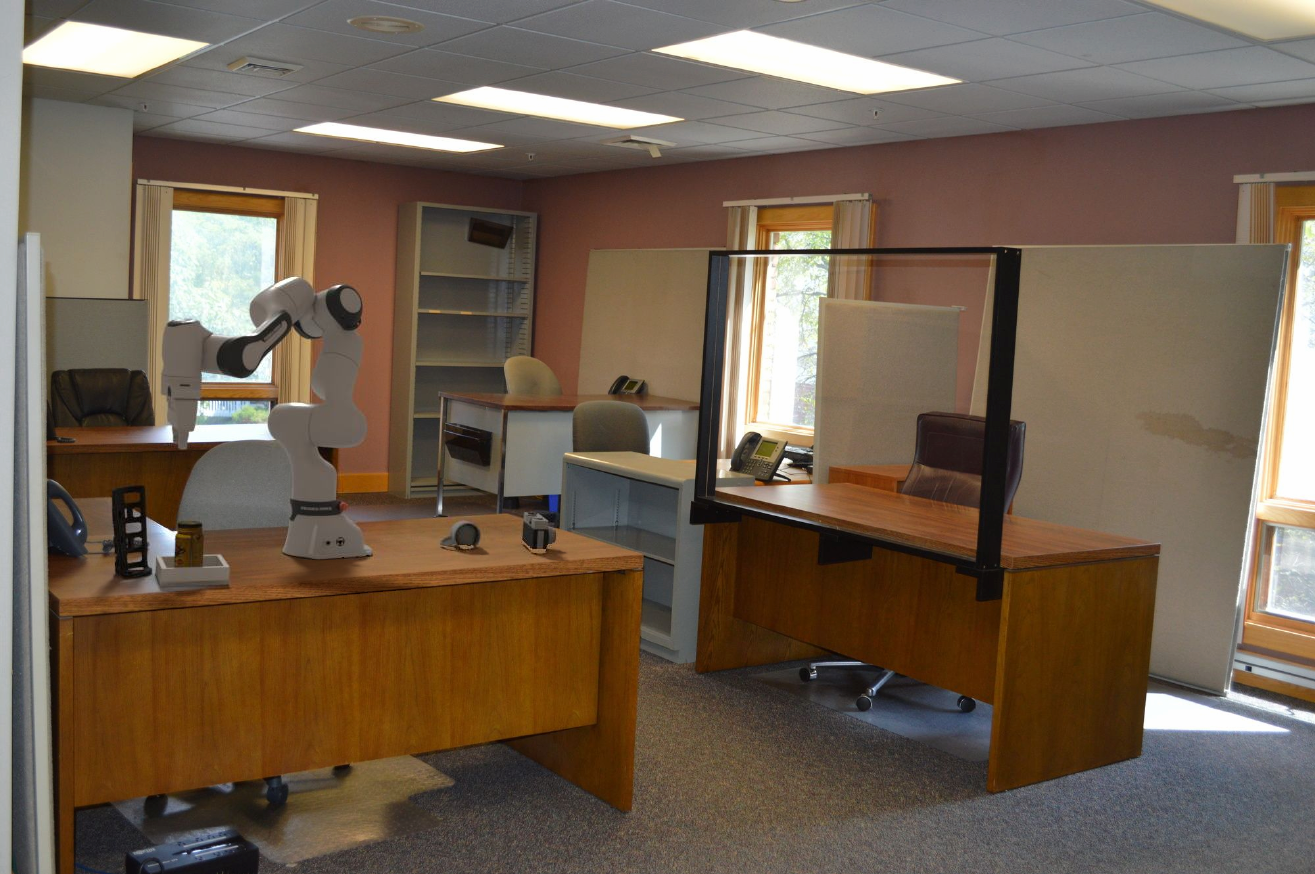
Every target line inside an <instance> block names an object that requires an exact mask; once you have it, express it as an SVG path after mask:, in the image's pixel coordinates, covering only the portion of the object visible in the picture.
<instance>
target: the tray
mask: <svg viewBox="0 0 1315 874" xmlns="http://www.w3.org/2000/svg"><path fill="white" fill-rule="evenodd" d="M174 556H175V555H156V556H155V575H156V577H157V580H158V583H159V584H160V587H161V588H163V587H165V588H168V587H190V586H191V587H193V586H195V587H196V586H222V585H223V586H225V585H229V583H230V570H231V569H230V565H229V564H228V562H227V561H226V560H225V558H224V557H223V555H222V554H203V567H178V568H174Z"/></svg>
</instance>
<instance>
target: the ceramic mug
mask: <svg viewBox="0 0 1315 874" xmlns="http://www.w3.org/2000/svg"><path fill="white" fill-rule="evenodd" d="M449 534H450V535H449V536H446V537H445V538H443V539H441V540H440V541H439V546H441V545H442V546H448V547H451V546H453V545H454V546H456V547H458V548H459V547H460V546H459V545H467V546H471V545H473V546H476V547H477V546H478V545H479V543H480V541H481V537H482V534H481V530H480V528H479V526H478V525H477V524H475V523H473V522H471V521H468V520H459V521H457V522H455V523H454V524H453V525H452V527H451V528H450V533H449Z"/></svg>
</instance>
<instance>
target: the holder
mask: <svg viewBox="0 0 1315 874" xmlns="http://www.w3.org/2000/svg"><path fill="white" fill-rule="evenodd" d="M110 492H111V494H110V498H111V513H112V514H111V517H112V519H111V520H112V521H111V522H112V525H113V526H112V527H113V537H112V538H113V547H114V554H115V556H114V557H115V558H114V559H115V561H114V573H115V574H116V575H117V576H120V577H121V578H122V579H123V580H126V579H127V580H128V579H132V578H134V577H135V578H136V577H139V576H140V577H141V576H143V575H147V574H150V573H152V571H153V568H152V567H150V566H149V563H148V562H149V561H148V529H147V524H148V523H147V501H146V500H147V498H146V497H147V496H146V486H145V485H142V484H140V485H129V486H122V487H118V488H117V487H116V488H113V489H110ZM132 493H133V494H134V493H137V494H139V500H138V501H134V502H125V494H132ZM134 508H139V510H140V515H139V516H134ZM137 523H139V524H140V530H139V531H135V532H134V531H133V532H127V525H128V524H137ZM135 538H140V539H141V545H139V546H136V545H135ZM133 553H141V559H140V560H139V561H133V562H132V561H131V562H128V554H133ZM138 568H139V569H138ZM140 568H142V569H140Z"/></svg>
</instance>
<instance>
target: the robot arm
mask: <svg viewBox="0 0 1315 874" xmlns="http://www.w3.org/2000/svg"><path fill="white" fill-rule="evenodd" d="M363 307H364V306H363V300H362V297H361V295H360V293H359V292H358V290H357V289H355V288H354V287H353V286H351V285H349V284H337V285H334V286H331V287H330V288H327V289H325V290H322V291H320V292H318V293H317V292H316V291H315V290H314V287H313V286H312V284H311V283H310V282H309V281H307V279H304V278H303V277H300V276H291V277H288V278H284V279H283V280H280V281H278V282H275V283H274V284H271V285H270V286H268V287H267V288H265V289H263V290H262V291H261V292H259V293H258V294H257V295H255V297H254V298H253V299H252V300H251V301H250V305H249V309H248V310H249V317H250V319H251V322H252V323H253V326H254V327H255V329H254V330H253V331H252V332H251V333H250V334H247V335H229V334H218V333H214V332H212V331H211V330H209V329H207V328H206V327H204V326H203V325H202V324H201V320H199V319H195V318H177V319H172V320H169V321H168V322H167V323H166V324H165V326H164V329H163V335H162V342H161V358H162V363H163V367H162V370H161V373H160V395H161V396H165V397H166V403H167V407H166V408H167V411H166V419H167V423H169V424H170V425H171V432H172V443H173V444H175V445H178V446H177V448H178V449H179V450H187V449H188V441H189V437H190V433H191V432H194V431H195V428H196V424H197V416H198V405H199V400H201V398H202V388H203V387H202V386H203V385H202V383H203V373H206V374H212V375H219V376H221V375H222V376H227V377H232V378H236V379H246V378H249V377H250V376H252V375H253V374H254V373H255V372H256V371H257V369H258V368H259V366H260V364H261V363H262V361H263V360H264V359H265V357H267V355H269V354H270V353H271V351H273V349H275V347H277V346H278V345H279V344H280V343H281V342H282V341H283V340H284V339H285V338H286V337H287V336H288V334H289V333H290V332H291V330H292V328H293V329H294V331H295V332H296V333H297V334H298V335H299V336H300V337H302V338H303V339H305V340H318V339H322V348H321V350H320V351H319V354H318V358H317V360H316V362H315V365H314V369H313V372H312V375H311V377H310V379H309V380H310V387H311V389H312V391H313V392H314V394H315V395H316V396H318V398H320V399H321V400H323V402H322V403H311V402H310V403H309V402H297V401H293V402H292V401H291V402H285V403H278V404H276V405H274V407H273V408H272V409H271V410H270V412H269V414H268V417H267V428H268V432H269V434H270V436H271V437H272V438H273V439H274V440H275V441H276V442H277V443H279V445H280V446H281V447H282V448H283V450H284V452H285V453H286V455H287V458H288V461H289V463H290V467H291V483H292V485H291V497H290V499H289V503H288V519H289V522H288V523H289V524H288V530H287V535H286V540H285V543H284V546H283V548H282V553H284V554H286V555H289V556H293V557H301V558H302V557H303V558H309V559H313V560H328V559H340V558H341V559H342V557H344V558H356V557H357V556H358V557H367V556H366V555H370V556H371V555H372V554H373V549H372V548H371V546H369V545H367V544H365V541H364V534H363V532H362V529H361V528H360V527H359V526H358V525H357V524H356V523H355V522H354V521H353V520H351V519H350V518H349V517H348V516H347V515H346V514H345V515H344V513H343V512H345V511H347V510H348V509H349V505H348V503H346V502H345V501H341V500H339V499H337V486H338V485H337V484H338V472H337V469H336V468H335V467H334V465H333V464H331V463H330V462H329V461H327V460H326V459H324V458H323V456H322V455H321V454H320V452H319V449H318V447H322V448H333V449H346V448H354V447H358V446H359V445H360V444H362V443H363V441H364V440H365V438H366V435H367V433H368V421H367V418H366V416H365V415H364V412H362V411H361V410H360V409H359V408H358V407H357V406H356V404H355V402H354V397H353V393H354V389H355V385H356V380H357V378H358V374H359V371H360V368H361V364H362V360H363V355H364V354H363V353H364V340H363V338H362V336H361V334H359V333H358V332H357V331H356V330H357V329H358V328H359V327H360V326H361V324H362V315H363V311H364V310H363ZM358 557H357V558H358Z"/></svg>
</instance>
